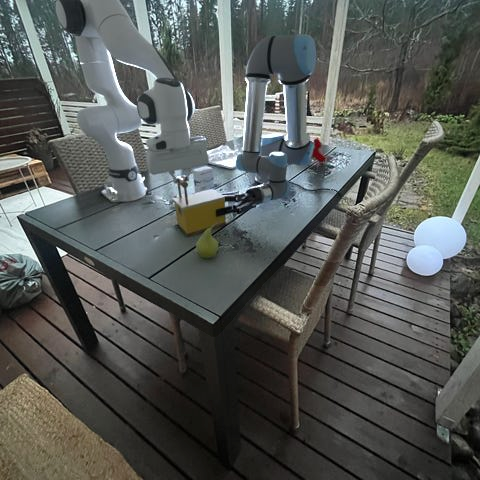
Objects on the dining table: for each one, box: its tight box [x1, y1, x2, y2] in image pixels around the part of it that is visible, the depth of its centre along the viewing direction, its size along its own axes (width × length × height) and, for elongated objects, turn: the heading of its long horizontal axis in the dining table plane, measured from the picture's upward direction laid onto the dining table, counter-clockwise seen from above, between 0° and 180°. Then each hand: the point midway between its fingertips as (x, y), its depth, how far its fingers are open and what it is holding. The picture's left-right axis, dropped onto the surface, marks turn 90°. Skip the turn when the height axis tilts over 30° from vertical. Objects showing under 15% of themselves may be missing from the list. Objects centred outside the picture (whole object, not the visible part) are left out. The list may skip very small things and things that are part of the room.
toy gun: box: [311, 136, 327, 165], centre depth 168 cm, size 18×4×15 cm
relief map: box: [207, 144, 243, 170], centre depth 177 cm, size 27×35×5 cm
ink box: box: [192, 165, 215, 193], centre depth 128 cm, size 8×5×12 cm, turn 135°
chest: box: [174, 199, 227, 237], centre depth 101 cm, size 16×9×11 cm, turn 123°
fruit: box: [195, 221, 219, 259], centre depth 84 cm, size 7×8×12 cm
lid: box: [171, 175, 225, 210], centre depth 96 cm, size 17×9×9 cm, turn 123°
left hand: (181, 181), depth 91 cm, fingers closed on lid, 2 cm apart
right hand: (210, 208), depth 103 cm, fingers closed on chest, 9 cm apart
